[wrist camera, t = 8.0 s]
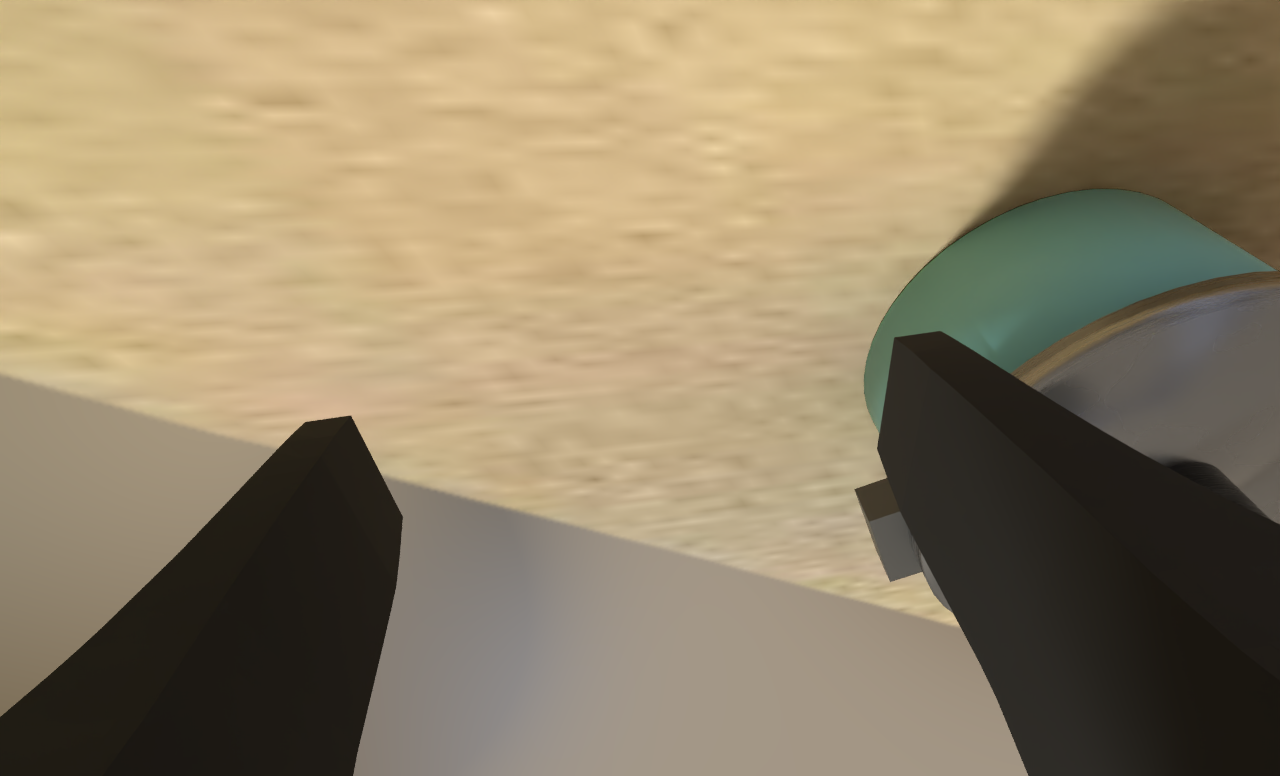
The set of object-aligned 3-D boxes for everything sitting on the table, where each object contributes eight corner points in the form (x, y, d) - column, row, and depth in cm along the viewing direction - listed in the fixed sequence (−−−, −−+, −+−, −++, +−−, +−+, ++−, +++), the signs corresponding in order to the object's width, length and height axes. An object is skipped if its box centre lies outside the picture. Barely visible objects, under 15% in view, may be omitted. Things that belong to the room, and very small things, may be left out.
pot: (1291, 95, 18) (1543, 186, 13) (1238, 383, 25) (1395, 511, 20) (779, 304, 21) (841, 440, 16) (856, 513, 27) (916, 652, 23)
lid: (1076, 231, 13) (1233, 355, 10) (1529, 308, 15) (1770, 428, 12) (840, 598, 20) (890, 735, 17) (1172, 612, 23) (1269, 736, 20)
